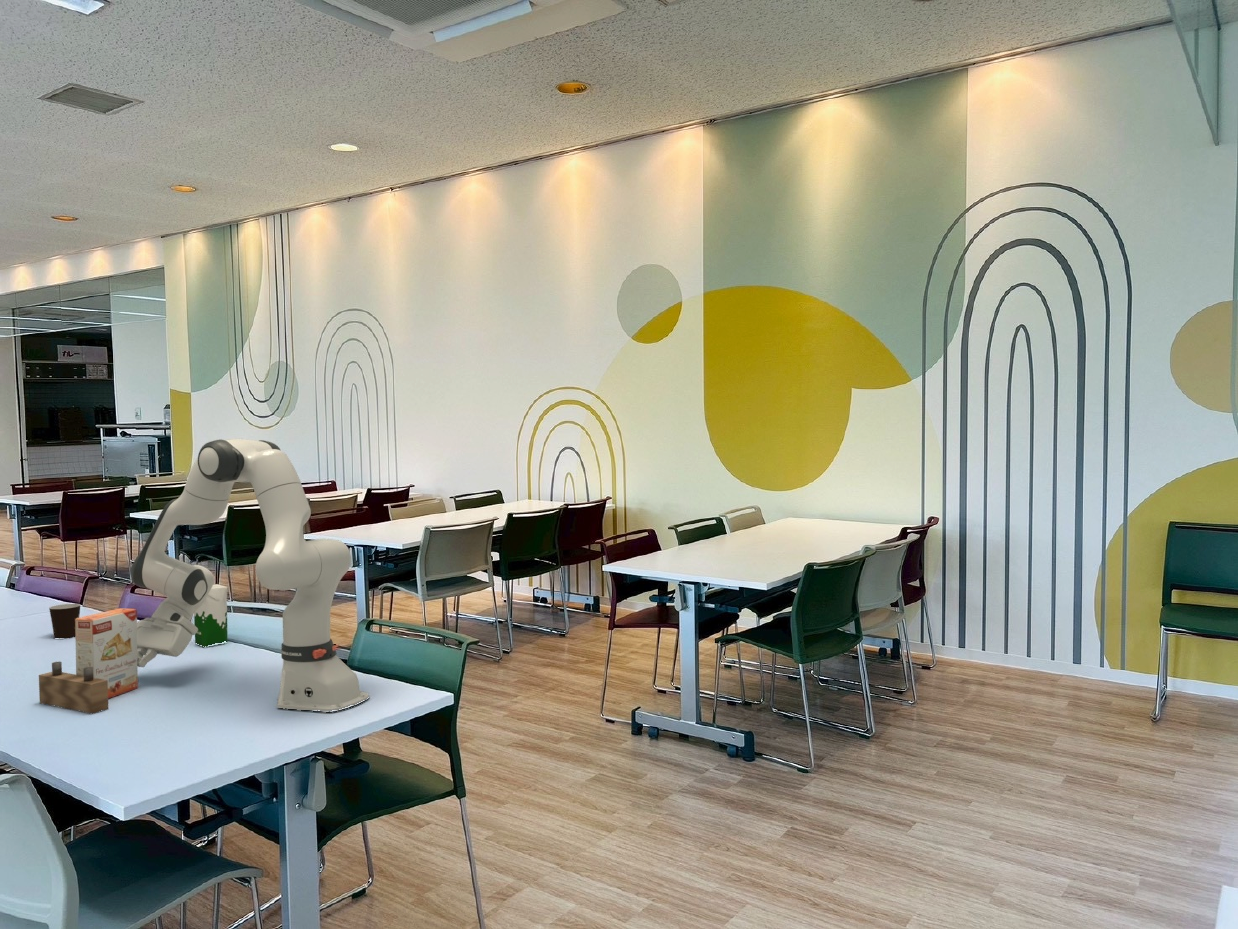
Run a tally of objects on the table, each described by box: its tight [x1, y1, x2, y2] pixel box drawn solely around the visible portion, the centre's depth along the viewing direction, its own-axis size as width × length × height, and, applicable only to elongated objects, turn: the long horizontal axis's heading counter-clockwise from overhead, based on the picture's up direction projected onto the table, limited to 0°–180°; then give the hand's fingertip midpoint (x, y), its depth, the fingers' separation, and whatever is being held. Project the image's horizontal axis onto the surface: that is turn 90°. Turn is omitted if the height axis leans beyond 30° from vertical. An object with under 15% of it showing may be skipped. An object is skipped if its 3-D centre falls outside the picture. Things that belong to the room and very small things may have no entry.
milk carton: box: [193, 583, 229, 648], centre depth 278 cm, size 9×9×20 cm
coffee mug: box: [49, 603, 81, 639], centre depth 291 cm, size 12×9×10 cm
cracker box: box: [75, 607, 139, 699], centre depth 224 cm, size 14×6×21 cm, turn 165°
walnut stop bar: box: [38, 661, 109, 715], centre depth 216 cm, size 20×4×10 cm, turn 64°
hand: (137, 665), depth 231 cm, fingers closed
